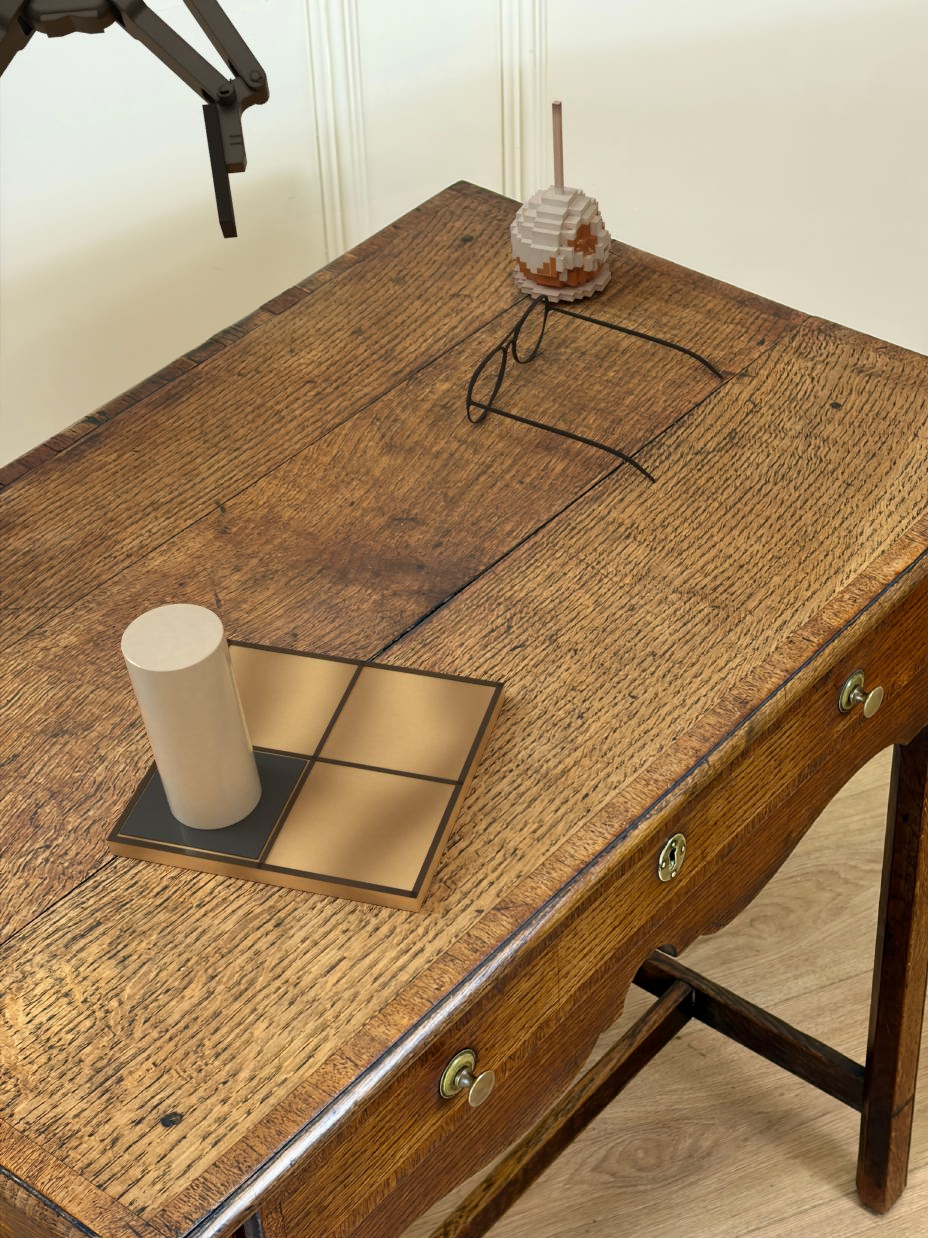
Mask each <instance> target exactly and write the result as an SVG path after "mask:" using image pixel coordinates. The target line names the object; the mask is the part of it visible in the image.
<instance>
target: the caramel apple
mask: <svg viewBox="0 0 928 1238" xmlns="http://www.w3.org/2000/svg"><path fill="white" fill-rule="evenodd" d="M562 106H563V104H562V101H561V100H553V102H552V103H551V111H552V112H551V115H552V116H551V118H552V142H553V143H552V147H553V148H552V149H553V150H552V151H553V177H554V178H553V182H554V184H551V185H550V186H549V187H548V188H547V189H544V190H543V189H538V190H537V191H536V192H535V194H532V195H531V196H530V198H529V199H528V200H526V201H524V203H523V204H522V205H521V207H519V209H518V210H517V212H516V213H515V216H516V217H515V218H514V220H513V221H512V222H511V224H510V227H509V228H510V245H511V247H510V248H511V252H512V253H511V254H512V259H514V260H516V265H515V266H514V267H513V268H512V276H513V284H515V285H517V289H521V293H523V294H529V295H531V299H533V300H535V299H536V298H537V297H538V296H540V295H543V294H544V295H546V296H548V299H549V302H551V303H552V302H553V303H559V301H560V300H563V301H567V302H574V300H575V299H579V300H582V299H584V297H587V298H588V297H589V298H591V297H592V296H593V294H594V293H595V292H596V291H597V292H603V290H604V289H605V288H606V286H607V285H608V283H609V282H610V280H611V279H612V272H611V271H610V263H606V261H607V259H608V258H609V256H610V252H609V251H610V249H611V247H612V233H610V232H609V230H608V229H606V222H605V221H604V220H603V217H602V212H601V211H600V210H599V201H598V200H597V198H596V197H591V196H587V195H586V192H584V190H583V188H575V187H570V186H565V180H564V179H565V178H564V176H565V175H564V143H563V141H564V140H563V113H562V112H563V108H562ZM541 301H545V299H542V300H541Z"/></svg>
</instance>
